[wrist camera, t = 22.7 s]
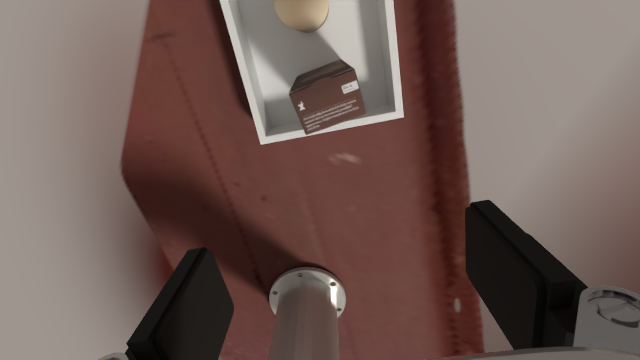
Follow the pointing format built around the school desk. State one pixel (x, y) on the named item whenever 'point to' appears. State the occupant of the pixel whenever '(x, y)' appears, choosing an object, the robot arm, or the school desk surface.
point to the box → (327, 96)
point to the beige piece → (302, 13)
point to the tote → (314, 60)
